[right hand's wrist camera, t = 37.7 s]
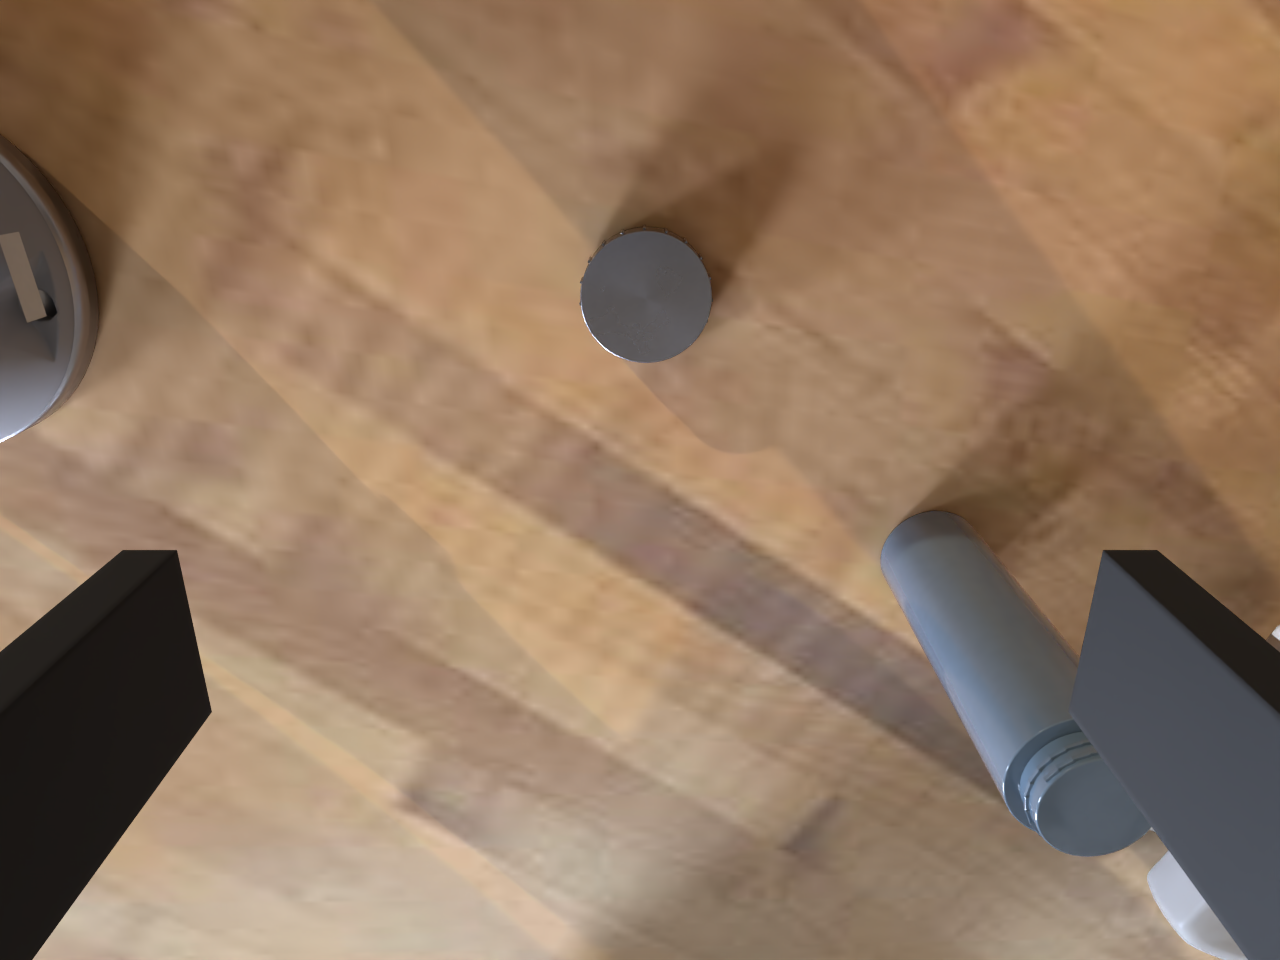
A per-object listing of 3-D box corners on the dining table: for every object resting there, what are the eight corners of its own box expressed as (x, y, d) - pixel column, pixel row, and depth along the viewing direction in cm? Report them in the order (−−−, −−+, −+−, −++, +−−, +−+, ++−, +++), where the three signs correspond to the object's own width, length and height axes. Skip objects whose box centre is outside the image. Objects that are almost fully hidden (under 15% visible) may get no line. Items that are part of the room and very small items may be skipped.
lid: (631, 196, 38) (631, 199, 36) (737, 277, 39) (741, 284, 38) (555, 305, 39) (552, 312, 38) (659, 379, 41) (660, 389, 39)
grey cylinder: (1001, 546, 44) (1213, 795, 28) (932, 616, 45) (1095, 892, 29) (928, 491, 43) (1103, 718, 27) (859, 565, 44) (986, 822, 28)
